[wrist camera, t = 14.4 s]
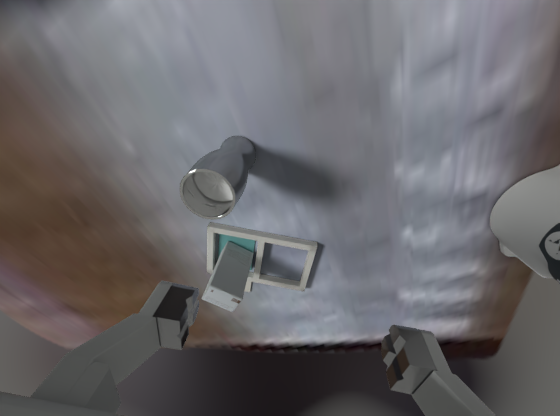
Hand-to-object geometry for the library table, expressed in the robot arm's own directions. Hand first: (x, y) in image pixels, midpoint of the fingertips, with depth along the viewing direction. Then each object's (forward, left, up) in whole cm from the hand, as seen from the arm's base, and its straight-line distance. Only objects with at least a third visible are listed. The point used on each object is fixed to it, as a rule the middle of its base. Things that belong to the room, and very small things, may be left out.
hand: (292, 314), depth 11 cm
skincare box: (+8, +27, -33) cm, 43 cm away
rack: (+4, +29, -33) cm, 44 cm away
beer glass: (+10, +6, -33) cm, 35 cm away
